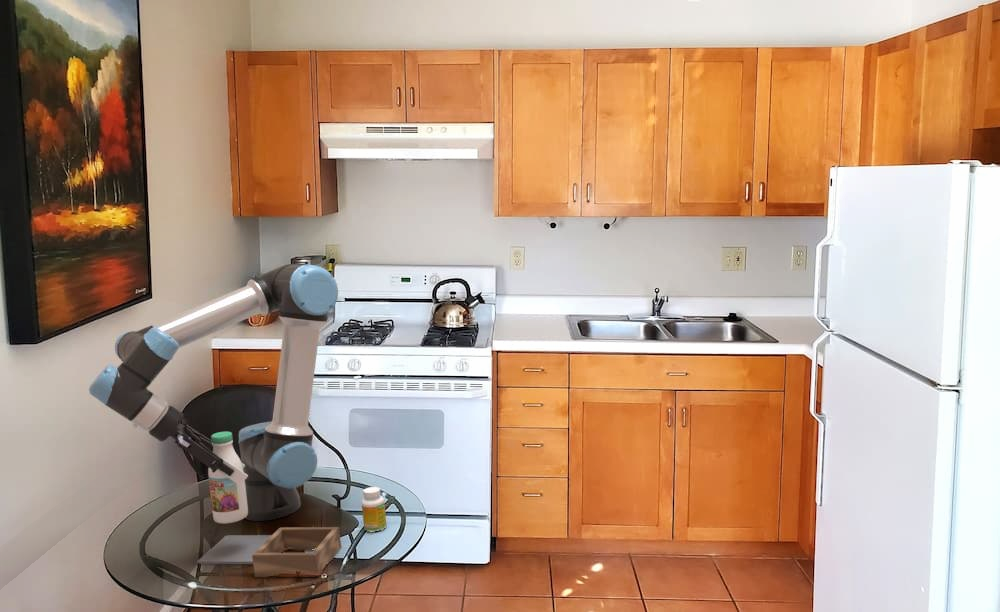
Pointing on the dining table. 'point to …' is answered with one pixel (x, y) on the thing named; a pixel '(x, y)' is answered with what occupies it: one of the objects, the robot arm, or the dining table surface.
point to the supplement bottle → (373, 510)
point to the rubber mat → (234, 549)
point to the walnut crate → (302, 538)
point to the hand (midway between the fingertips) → (242, 475)
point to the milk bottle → (226, 484)
